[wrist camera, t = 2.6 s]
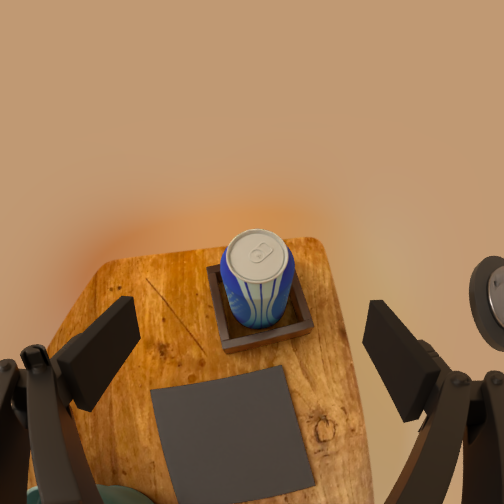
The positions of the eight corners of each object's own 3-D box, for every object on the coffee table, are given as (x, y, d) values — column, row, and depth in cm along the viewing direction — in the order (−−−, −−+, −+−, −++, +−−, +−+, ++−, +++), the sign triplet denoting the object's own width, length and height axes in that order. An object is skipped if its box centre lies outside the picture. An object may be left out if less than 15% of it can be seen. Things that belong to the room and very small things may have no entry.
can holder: (309, 333, 41) (314, 326, 38) (226, 354, 40) (222, 349, 36) (286, 260, 48) (288, 248, 44) (210, 278, 46) (206, 267, 43)
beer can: (288, 328, 42) (303, 286, 28) (232, 333, 41) (218, 295, 28) (281, 278, 46) (290, 218, 32) (229, 283, 46) (216, 225, 32)
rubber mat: (314, 484, 29) (315, 485, 29) (180, 506, 27) (180, 507, 27) (281, 365, 39) (281, 364, 38) (151, 390, 37) (149, 389, 37)
